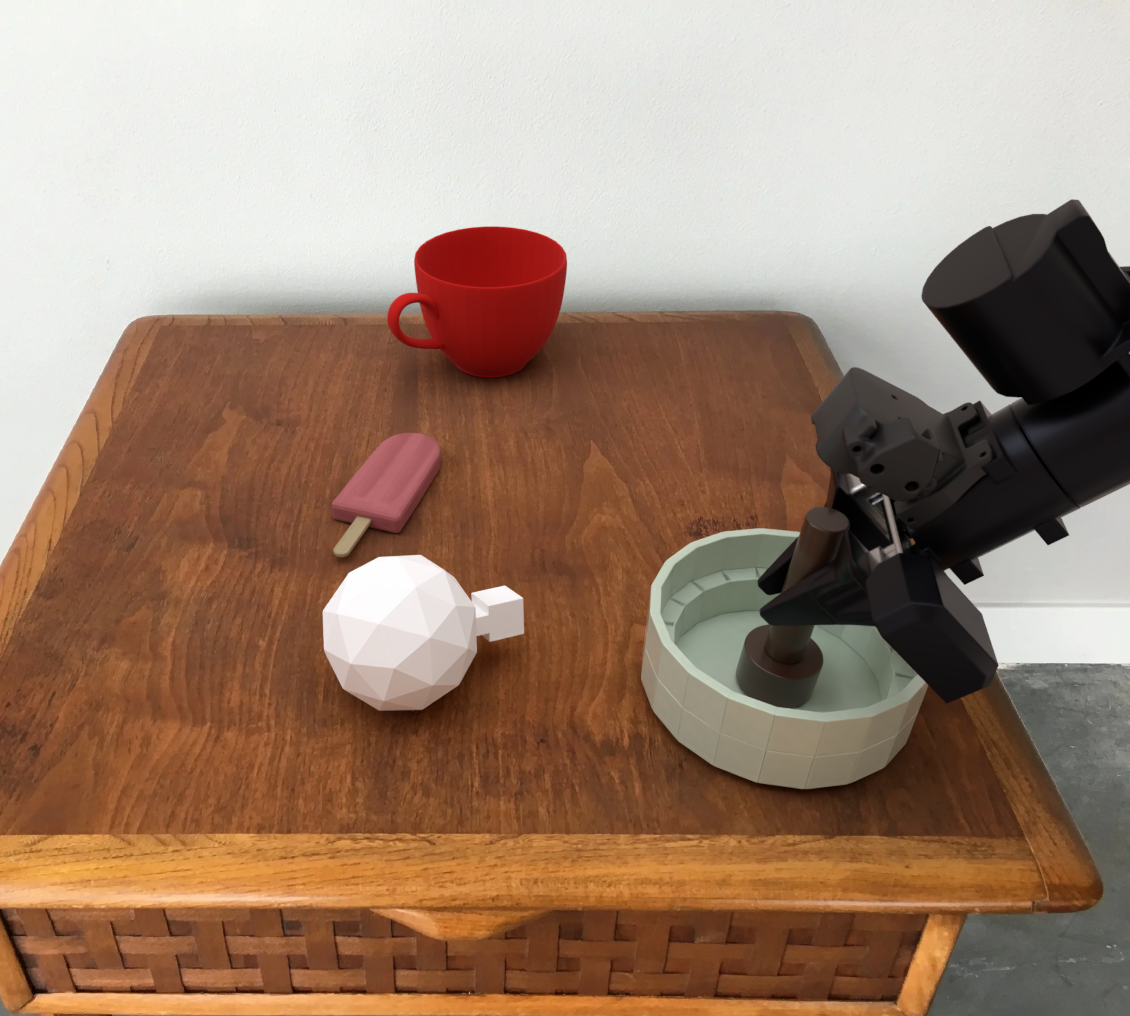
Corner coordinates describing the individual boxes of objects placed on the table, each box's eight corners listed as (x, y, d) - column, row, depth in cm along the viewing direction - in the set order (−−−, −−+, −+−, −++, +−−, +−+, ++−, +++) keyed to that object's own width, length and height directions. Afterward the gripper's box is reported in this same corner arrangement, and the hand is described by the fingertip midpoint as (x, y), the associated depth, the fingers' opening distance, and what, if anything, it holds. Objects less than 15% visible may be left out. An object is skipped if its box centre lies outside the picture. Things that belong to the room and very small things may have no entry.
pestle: (783, 646, 61) (836, 487, 54) (828, 698, 58) (891, 536, 51) (721, 663, 60) (767, 501, 53) (763, 717, 57) (819, 553, 50)
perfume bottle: (356, 758, 54) (552, 704, 58) (344, 599, 51) (550, 556, 56) (306, 690, 61) (483, 647, 66) (293, 548, 58) (479, 513, 63)
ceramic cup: (354, 367, 91) (345, 262, 85) (501, 314, 99) (502, 214, 93) (438, 429, 83) (434, 317, 77) (592, 365, 90) (599, 259, 84)
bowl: (888, 615, 64) (912, 542, 61) (930, 815, 52) (964, 739, 49) (645, 588, 67) (654, 516, 63) (634, 773, 55) (644, 698, 51)
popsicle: (302, 538, 69) (389, 425, 80) (304, 555, 70) (390, 442, 81) (373, 555, 68) (452, 438, 79) (375, 572, 69) (453, 454, 80)
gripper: (914, 253, 52) (672, 417, 61) (998, 454, 38) (664, 633, 46) (1028, 397, 56) (785, 533, 64) (1146, 632, 41) (810, 768, 50)
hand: (762, 602), depth 56 cm, fingers closed on pestle, 2 cm apart
